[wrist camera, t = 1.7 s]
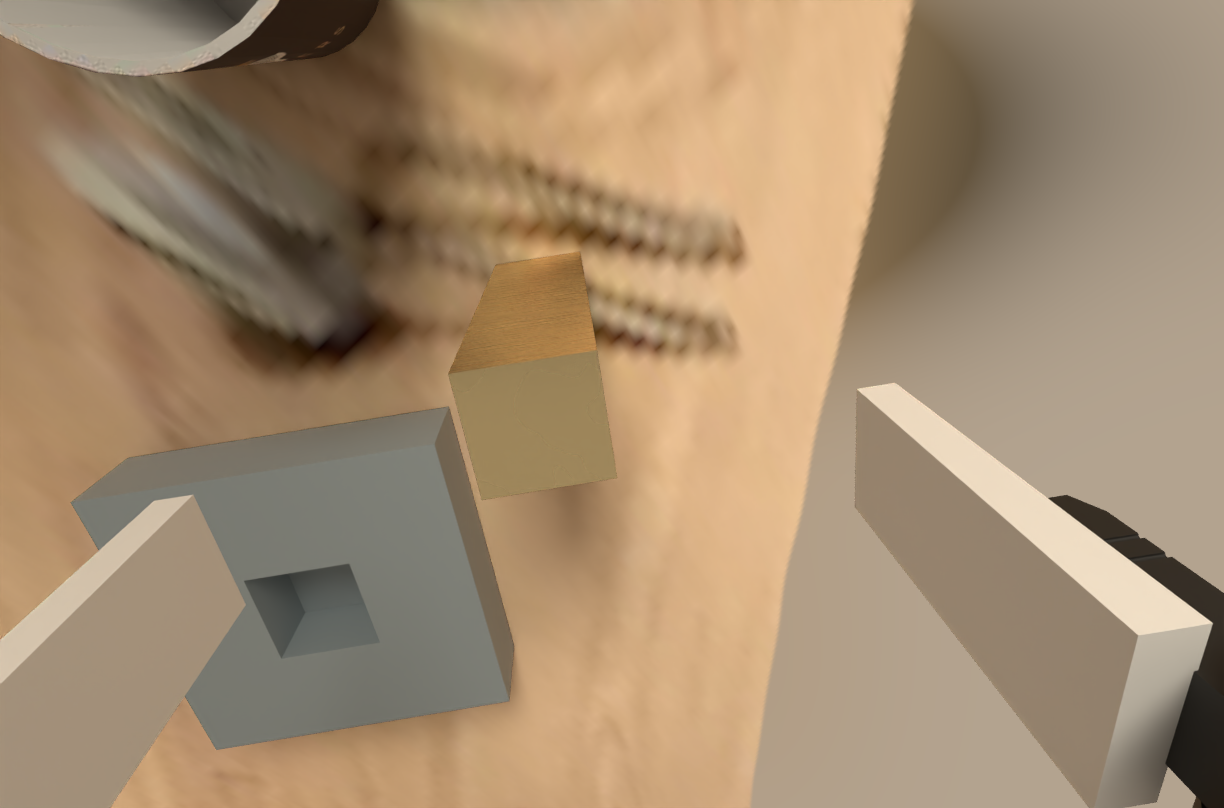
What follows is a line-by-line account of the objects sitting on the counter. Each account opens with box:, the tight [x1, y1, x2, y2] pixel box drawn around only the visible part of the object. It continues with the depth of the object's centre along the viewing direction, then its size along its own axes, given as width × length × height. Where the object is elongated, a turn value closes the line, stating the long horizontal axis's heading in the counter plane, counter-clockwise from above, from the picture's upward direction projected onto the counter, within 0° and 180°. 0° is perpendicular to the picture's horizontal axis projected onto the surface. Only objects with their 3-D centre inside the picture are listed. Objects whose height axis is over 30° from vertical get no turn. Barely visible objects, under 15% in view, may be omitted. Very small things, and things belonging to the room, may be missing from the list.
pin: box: [448, 252, 617, 500], centre depth 20 cm, size 3×3×12 cm
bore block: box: [71, 407, 514, 750], centre depth 29 cm, size 14×14×4 cm
